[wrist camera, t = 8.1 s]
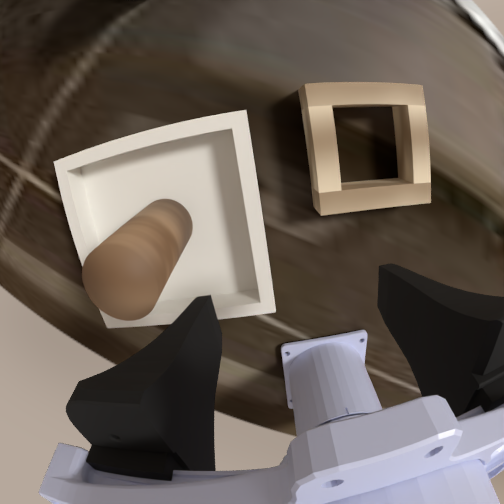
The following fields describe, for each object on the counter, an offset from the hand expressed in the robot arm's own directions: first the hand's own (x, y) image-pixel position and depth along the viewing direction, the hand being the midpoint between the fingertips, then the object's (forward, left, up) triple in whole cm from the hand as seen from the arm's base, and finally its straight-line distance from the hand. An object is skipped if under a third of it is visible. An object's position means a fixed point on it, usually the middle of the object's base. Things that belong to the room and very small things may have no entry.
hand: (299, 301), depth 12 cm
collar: (+5, -7, -10) cm, 14 cm away
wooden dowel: (+2, +8, -10) cm, 13 cm away
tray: (+1, +8, -10) cm, 13 cm away
